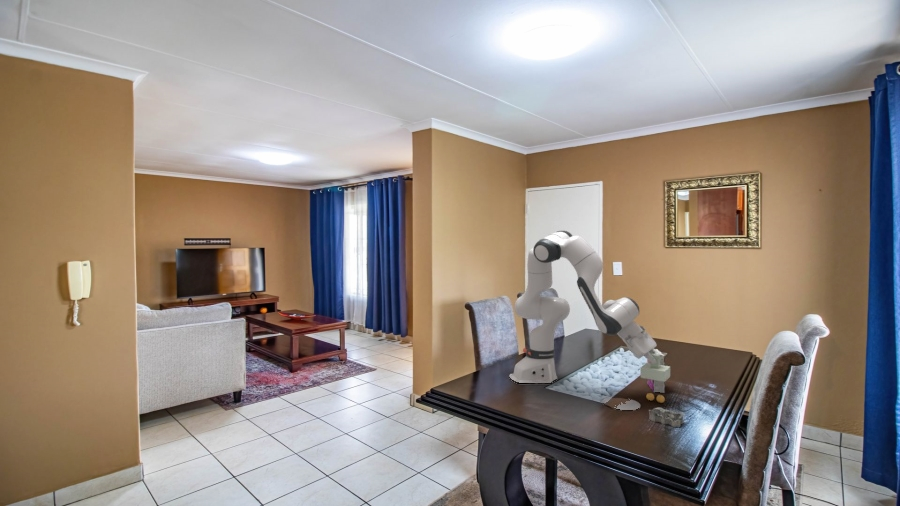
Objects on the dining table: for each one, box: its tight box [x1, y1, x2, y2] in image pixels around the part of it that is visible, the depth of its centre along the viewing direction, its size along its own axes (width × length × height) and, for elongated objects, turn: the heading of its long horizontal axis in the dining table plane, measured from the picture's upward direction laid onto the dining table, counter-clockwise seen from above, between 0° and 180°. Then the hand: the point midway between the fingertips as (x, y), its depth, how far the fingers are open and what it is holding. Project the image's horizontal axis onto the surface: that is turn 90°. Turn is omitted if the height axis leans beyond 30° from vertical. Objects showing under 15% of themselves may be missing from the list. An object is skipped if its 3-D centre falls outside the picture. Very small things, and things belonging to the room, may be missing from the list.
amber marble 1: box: [646, 392, 655, 402], centre depth 177 cm, size 3×3×3 cm
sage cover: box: [639, 353, 671, 383], centre depth 175 cm, size 9×9×9 cm
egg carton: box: [648, 407, 685, 428], centre depth 156 cm, size 11×8×4 cm
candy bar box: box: [646, 348, 666, 394], centre depth 191 cm, size 11×5×16 cm, turn 168°
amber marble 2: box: [656, 394, 666, 404], centre depth 174 cm, size 3×3×3 cm
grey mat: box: [602, 396, 641, 411], centre depth 173 cm, size 14×14×1 cm
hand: (657, 361), depth 175 cm, fingers closed on sage cover, 3 cm apart
